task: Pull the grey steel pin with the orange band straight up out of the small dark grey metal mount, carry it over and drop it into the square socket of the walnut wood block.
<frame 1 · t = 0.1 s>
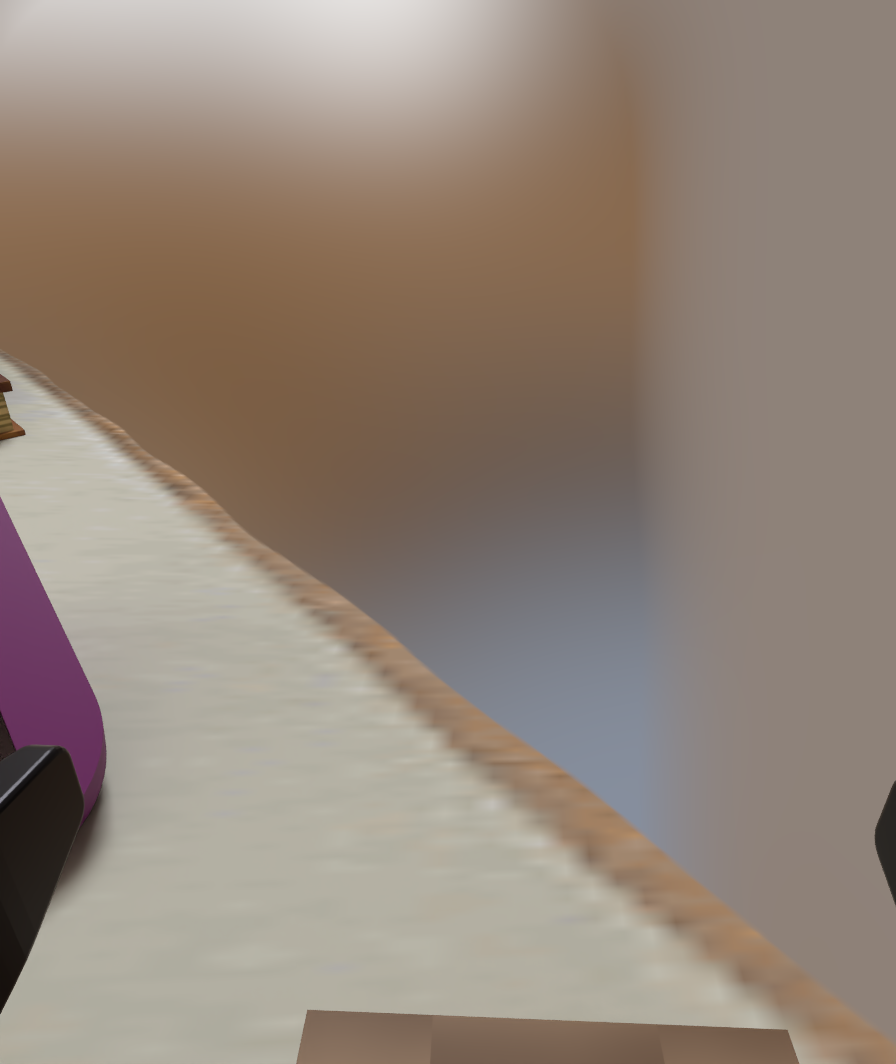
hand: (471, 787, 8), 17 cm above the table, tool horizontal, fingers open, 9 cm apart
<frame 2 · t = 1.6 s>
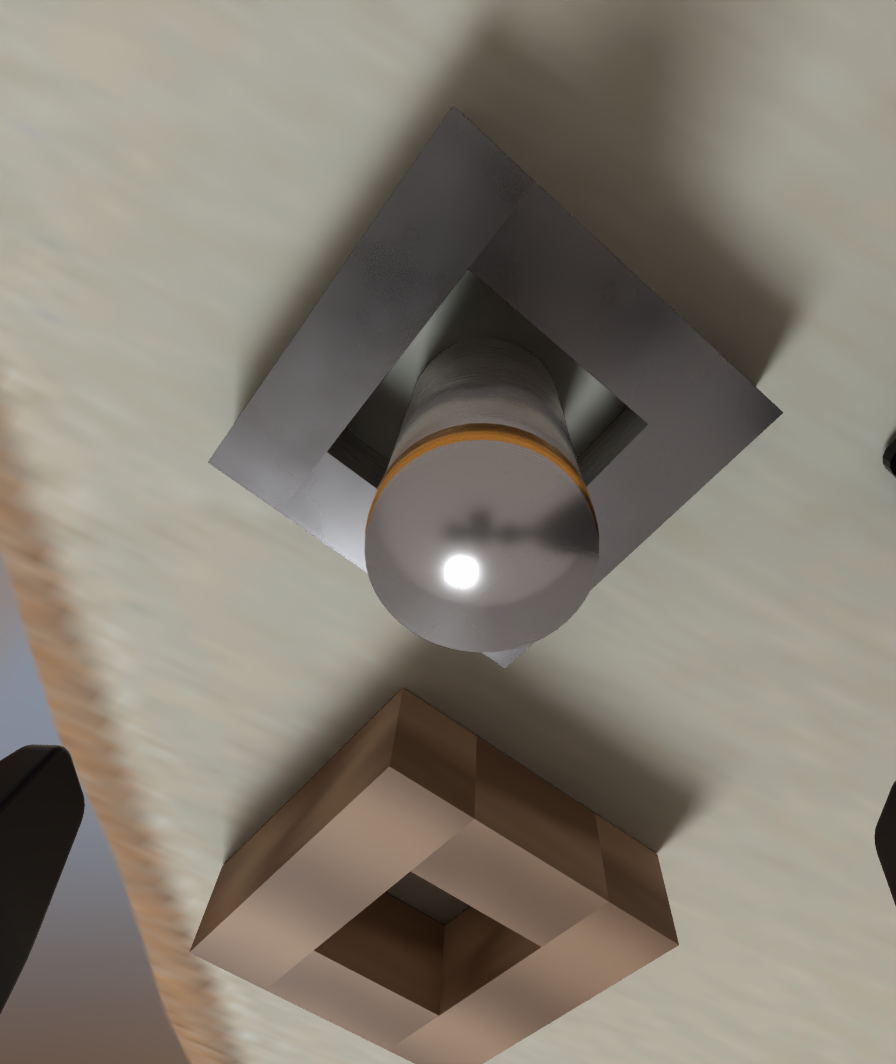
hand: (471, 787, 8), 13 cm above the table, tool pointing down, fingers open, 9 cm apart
socket block: (433, 860, 28), on the table
pin mount: (484, 413, 19), on the table
steel pin: (483, 468, 16), in the pin mount
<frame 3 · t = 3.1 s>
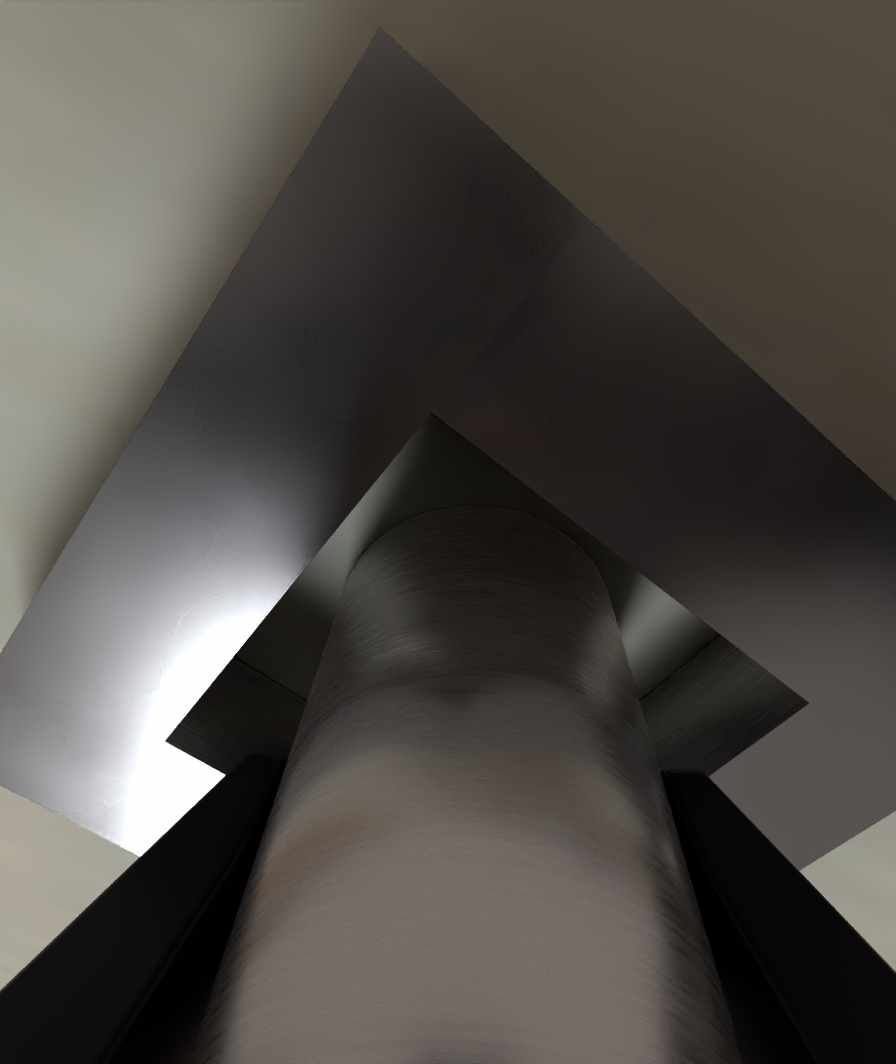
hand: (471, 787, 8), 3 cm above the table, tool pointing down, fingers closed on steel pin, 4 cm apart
pin mount: (475, 628, 10), on the table
steel pin: (469, 864, 7), in the pin mount, touching gripper
when the fingers open (4 cm above the table, at t = 7.6 s): steel pin drops 1 cm, resting in socket block.
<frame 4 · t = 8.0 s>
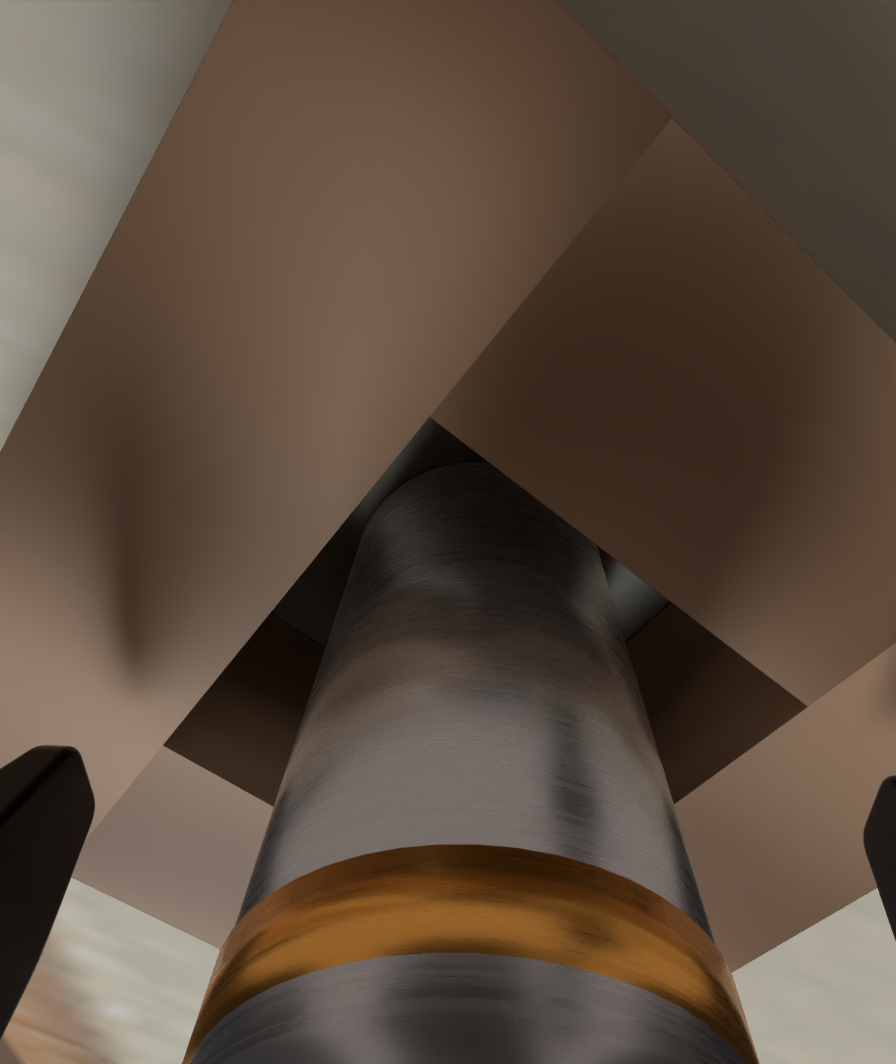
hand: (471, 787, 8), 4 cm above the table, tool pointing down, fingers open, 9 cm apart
socket block: (474, 579, 12), on the table
steel pin: (474, 750, 8), in the socket block
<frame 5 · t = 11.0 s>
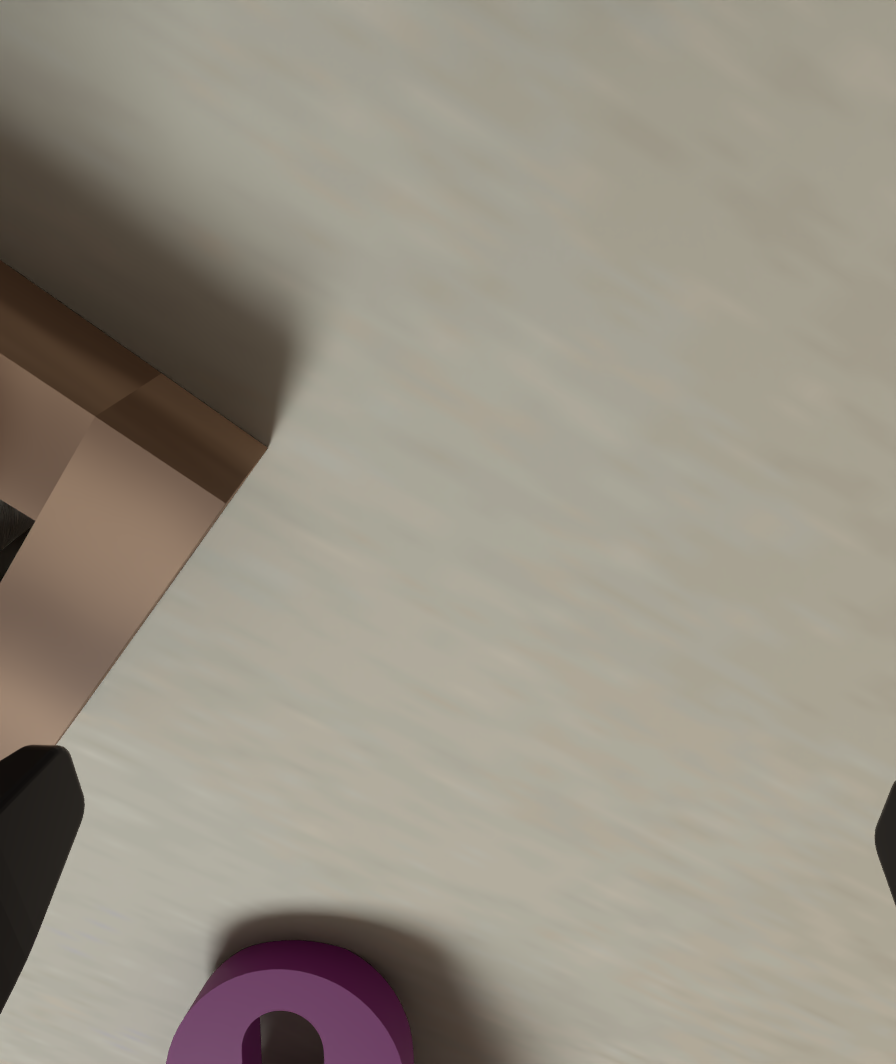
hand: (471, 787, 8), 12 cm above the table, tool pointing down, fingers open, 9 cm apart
mounting bracket: (324, 1046, 33), on the table
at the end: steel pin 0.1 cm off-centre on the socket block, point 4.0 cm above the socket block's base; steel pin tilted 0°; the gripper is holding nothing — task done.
